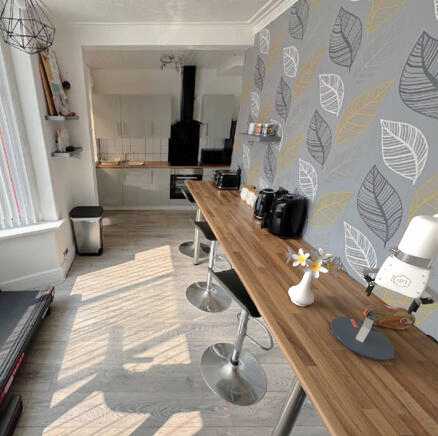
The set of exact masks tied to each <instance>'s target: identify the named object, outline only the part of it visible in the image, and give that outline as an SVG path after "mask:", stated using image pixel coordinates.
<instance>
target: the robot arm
mask: <svg viewBox="0 0 438 436" xmlns="http://www.w3.org/2000/svg"><path fill="white" fill-rule="evenodd" d="M388 252H391V254H390V255H388V257H387V258H386V259H385V261H384V262H383V264H382V265H381V267H379V268H374V267H373V268H372V267H364V268H363V269H362V274H363V278H364V280H365V282H366V283H367V286H366V289H365V291H364V292H365V293H367V294H366V297H370V296H371V294H372V292H373V290H374V288H375V287H376V286H380V287H382V288H385V289H387V290H390V291H392V292H395V293H397V294H400V295H403V296H405V297H407V298H410V299H413V300H412V302H411V304H410V305H409V306H408V309H407V310H408V314H410V315H411V314H413V313H417V312H418V310H419V309H420V307H421V306H424V305H425V306H426V305H433V304H434V303H437V302H438V292H437V291H436V290H434V289H433V288H432V287H431V286H430V285H429V284H430V282H431V279H432V278H433V277H432V276H433V274H434V267H433V266H432V265H433V264H434V262H435V260H436V258H437V257H438V213H436V214H434V215H423V214H422V215H421V214H420V215H416V216H414V217H413V218H412V219H411V221H409V224H408V225H407V228H406V230H405V232H404V234H403V236H402V238H401V240H400V242H399V244H398V246H396V247H392V246H389V248H388ZM370 274H376V275H375V277H373V278H372V277H371V275H370ZM425 293H427V294H429V295H430V297H423V296H424V294H425Z"/></svg>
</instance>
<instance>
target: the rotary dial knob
mask: <svg viewBox="0 0 438 436" xmlns="http://www.w3.org/2000/svg"><path fill="white" fill-rule="evenodd" d="M373 322H374V321H373V320H371V319H369V318H366V319H365V318H364V320H363V321H361V320H358V319H356V318H352V317H347V316H337V317H335V318H333V319H331V322H330V329H331V332H332V334H333V335H334V336H335V338H336V339H337V340H338V341H339V342H340V343H341V344H342V345H343V346H346V348H348V349H350V350H351V351H352V352H354V353H356V354H357V355H359V356H362V357H364V358H367V359H369V360H373V361H376V362H377V361H378V362H387V361H388V362H389V361H390V360H392V359H393V358H394V357H395V348H394V346H393V344H392V343H391V342H390V340H389V339H388V338H387V337H386V336H385V335H384V334H382V333H381V332H380V331H379V330H377V329H376V328H374V327H373V325H372V324H373Z"/></svg>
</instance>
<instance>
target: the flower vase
mask: <svg viewBox="0 0 438 436" xmlns="http://www.w3.org/2000/svg"><path fill="white" fill-rule="evenodd" d="M287 250H288V252H286V253H285V258H287V261H286V262H285V263H286V265H288V264H289V263H290V262H291V260H294V262H293V263H292V267H297V266H298V265H301V266H302V267H304V268H303V269H302V271H303V272H304V274H303V277H302V279H301V281H300V282H299V283H298V284H296V285H292V286H290V287H289V289H288V296H289V298H290V301H291V302H292V303H293V304H295V305H296V306H299V307H303V308H304V307H307V306H310V305H312V304H313V303H314V302H315V299H316V298H315V294H314V292H312V289H311V285H312V282H313V279H319V277H320V273H325V274H327V275H328V274H332V275H333V276H334V278H338V271H337V270H342V269H343V265H342V264H339V263H337V262H338V256H335V255H334V254H333V253H325V251H324V249H323V248H321V247H319V248H318V252H317V251H316V250H315V248H312V249H310V250H309V252H304V249H302V248H299V249H298V253H297V254H295V253H294V252H293V250H292V249H291V247H290V246H289V245H288V246H287ZM322 265H323V266H322ZM305 266H306V267H305ZM324 266H325V267H324ZM326 267H327V268H326Z"/></svg>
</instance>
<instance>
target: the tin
mask: <svg viewBox="0 0 438 436" xmlns="http://www.w3.org/2000/svg"><path fill="white" fill-rule="evenodd" d="M362 315H363V318H364V320H365V319H366V318H369V319H371V320H373V321H374V322H373V324H372V326H375V327H382V328H387V329H391V330H398V331H401V330H402V331H404V330H407V329H410V328H412V327H413V326H414V325H415V323H416V317H415V315H414V314H413V313H411V315H410V314H408V309H406V308H404V307H399V306H394V305H386V304H380V303H372V304H369V305H367V306H366V307H365V308H364V309H363V312H362Z"/></svg>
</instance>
